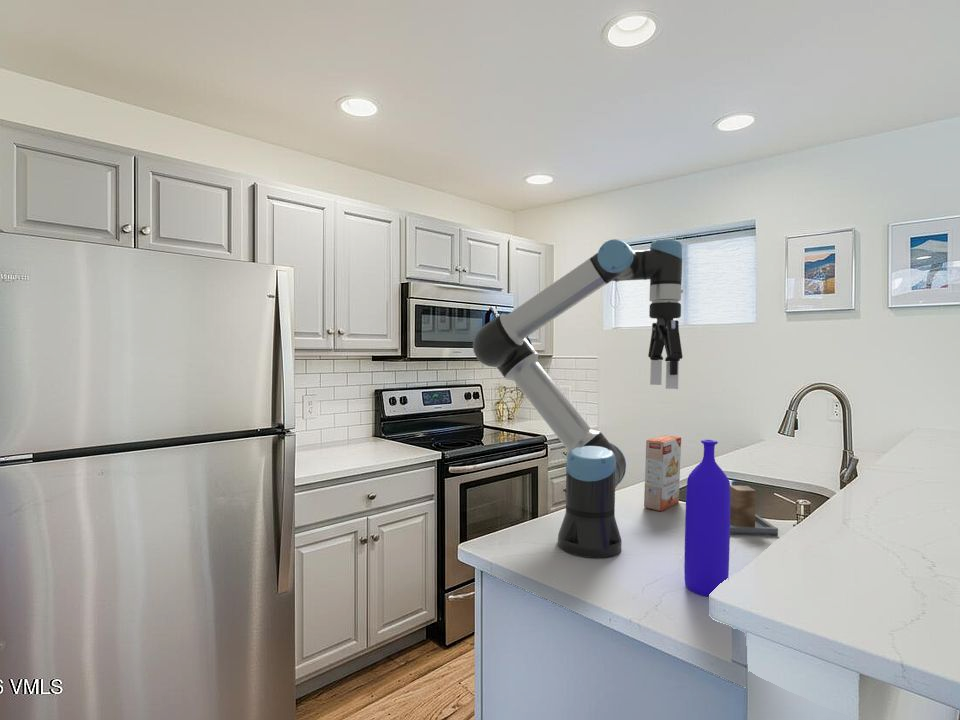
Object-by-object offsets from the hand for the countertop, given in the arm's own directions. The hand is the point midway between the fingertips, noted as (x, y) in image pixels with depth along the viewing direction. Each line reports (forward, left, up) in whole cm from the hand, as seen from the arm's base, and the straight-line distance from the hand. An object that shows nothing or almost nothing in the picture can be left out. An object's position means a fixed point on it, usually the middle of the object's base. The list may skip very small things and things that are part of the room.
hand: (663, 386), depth 133 cm
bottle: (+1, -28, -39) cm, 48 cm away
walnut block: (+25, +11, -38) cm, 47 cm away
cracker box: (+9, +29, -39) cm, 49 cm away
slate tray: (+25, +11, -39) cm, 47 cm away
